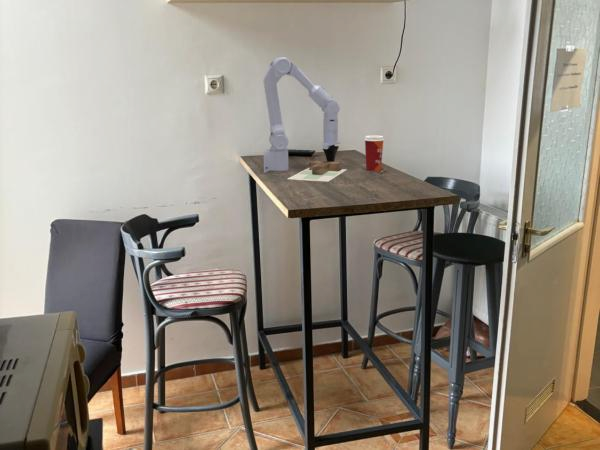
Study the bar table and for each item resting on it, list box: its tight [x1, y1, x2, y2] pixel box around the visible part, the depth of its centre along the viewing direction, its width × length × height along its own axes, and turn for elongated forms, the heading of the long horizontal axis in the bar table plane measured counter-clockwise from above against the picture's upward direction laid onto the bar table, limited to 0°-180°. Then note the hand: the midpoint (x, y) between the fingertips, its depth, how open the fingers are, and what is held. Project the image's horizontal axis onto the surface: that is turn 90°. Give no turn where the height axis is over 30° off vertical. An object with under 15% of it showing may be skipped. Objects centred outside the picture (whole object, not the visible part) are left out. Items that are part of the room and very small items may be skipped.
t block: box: [308, 160, 342, 175], centre depth 230 cm, size 12×12×3 cm
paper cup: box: [363, 134, 385, 174], centre depth 231 cm, size 8×8×14 cm
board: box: [287, 167, 348, 185], centre depth 226 cm, size 16×24×1 cm, turn 159°
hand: (330, 164), depth 239 cm, fingers closed
